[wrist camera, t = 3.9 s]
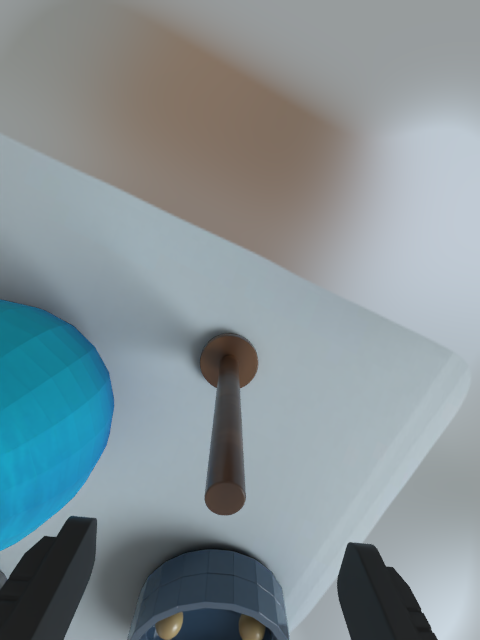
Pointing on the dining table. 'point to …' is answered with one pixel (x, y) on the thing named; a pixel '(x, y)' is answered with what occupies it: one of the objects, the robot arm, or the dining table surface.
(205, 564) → the bowl
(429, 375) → the dining table surface
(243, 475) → the stirrer
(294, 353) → the dining table surface
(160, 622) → the bead
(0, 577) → the beverage cup
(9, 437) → the decorative orb
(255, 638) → the bead
